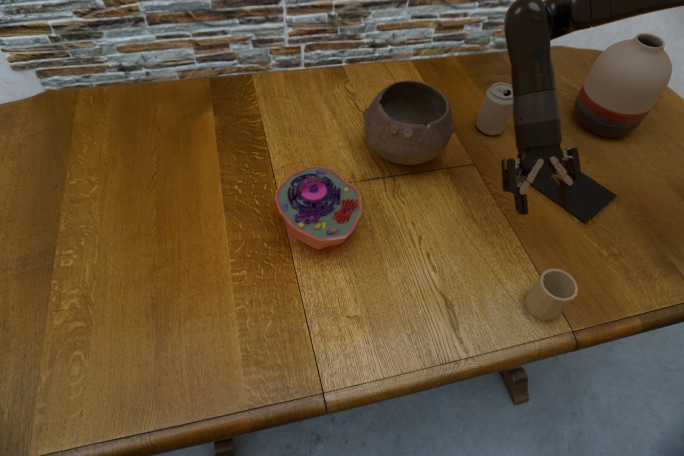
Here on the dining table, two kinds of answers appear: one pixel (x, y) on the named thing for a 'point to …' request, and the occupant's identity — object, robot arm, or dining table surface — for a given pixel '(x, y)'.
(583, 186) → the mat
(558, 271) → the cup
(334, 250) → the dining table surface
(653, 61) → the vase
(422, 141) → the clay pot
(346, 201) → the cell model
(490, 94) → the can
